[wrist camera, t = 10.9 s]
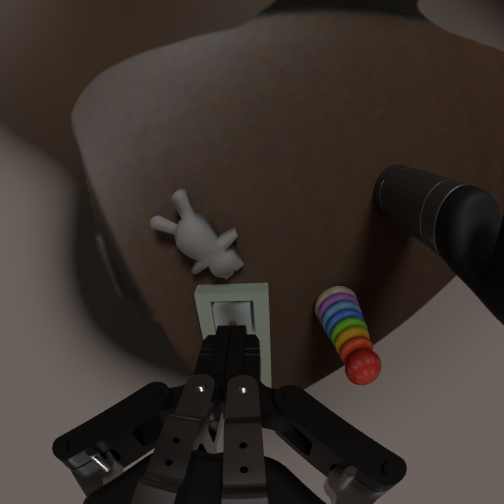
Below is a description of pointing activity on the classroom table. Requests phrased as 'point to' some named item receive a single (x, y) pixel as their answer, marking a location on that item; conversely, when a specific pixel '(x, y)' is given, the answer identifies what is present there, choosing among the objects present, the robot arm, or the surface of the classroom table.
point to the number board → (260, 314)
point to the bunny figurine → (201, 239)
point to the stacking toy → (348, 333)
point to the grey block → (233, 314)
